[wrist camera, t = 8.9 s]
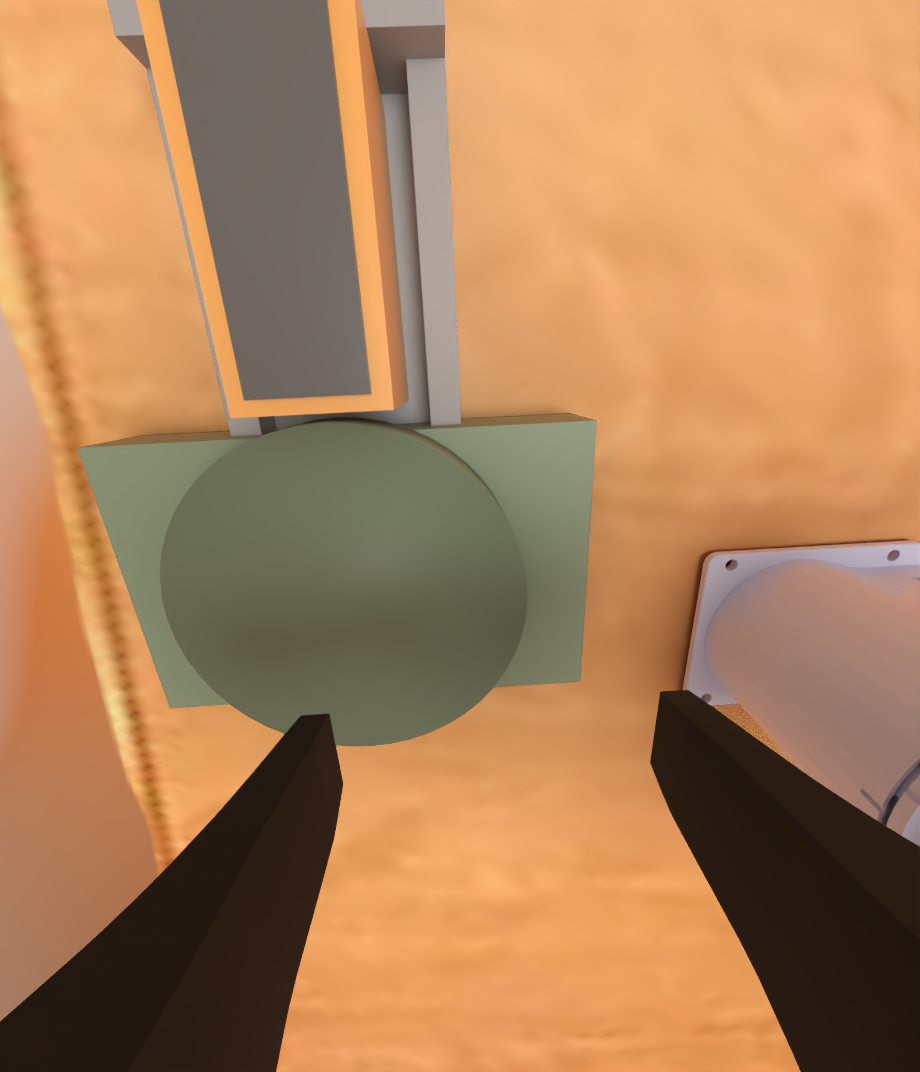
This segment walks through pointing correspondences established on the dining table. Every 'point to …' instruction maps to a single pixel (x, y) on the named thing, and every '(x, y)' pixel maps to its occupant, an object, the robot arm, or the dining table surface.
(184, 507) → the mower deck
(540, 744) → the dining table surface
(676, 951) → the dining table surface
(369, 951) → the dining table surface
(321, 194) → the orange-framed grey panel
